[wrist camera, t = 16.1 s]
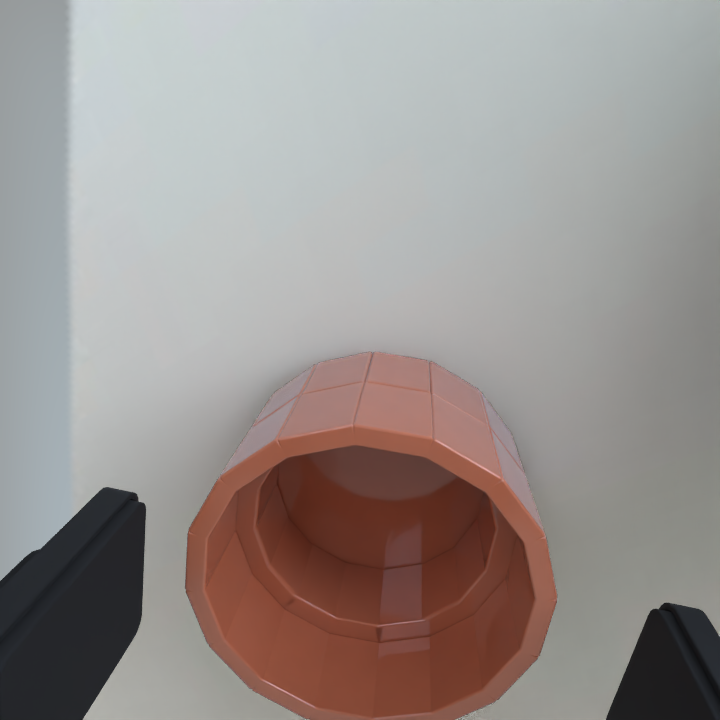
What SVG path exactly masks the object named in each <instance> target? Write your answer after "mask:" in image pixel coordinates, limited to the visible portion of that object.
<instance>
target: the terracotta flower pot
mask: <svg viewBox="0 0 720 720" xmlns="http://www.w3.org/2000/svg"><path fill="white" fill-rule="evenodd" d="M185 589H186V594H187V596H188V598H189V601H190V603H191V606H192V608H193V610H194V613H195V615H196V618H197V620H198V622H199V625H200V627H201V630H202V632H203V634H204V637H205V639H206V642H207V644H209V647H210V648H211V649H212V650H213V651H214V652H215V653H216V654H217V655H218V656H219V657H220V658H221V659H222V660H223V661H224V662H225V663H226V664H227V665H228V666H229V667H230V668H231V670H232V671H233V672H234V673H235V674H236V675H237V676H238V677H239V678H240V679H241V680H242V681H243V682H244V683H245V684H246V685H247V686H248V687H249V688H250V689H252V690H253V691H254V692H256V693H258V694H260V695H262V696H264V697H265V698H267V699H269V700H271V701H273V702H275V703H277V704H279V705H281V706H282V707H284V708H286V709H288V710H290V711H292V712H294V713H296V714H298V715H300V716H301V717H303V718H305V719H310V720H456V719H458V718H460V717H462V716H465V715H467V714H469V713H471V712H474V711H476V710H478V709H480V708H483V707H485V706H487V705H489V704H492V703H494V702H495V701H496V700H498V699H499V698H500V697H501V696H502V695H503V694H504V693H505V692H506V691H507V690H508V689H509V688H510V687H511V686H512V685H513V684H514V683H515V682H516V681H517V680H518V679H519V678H520V677H521V676H522V675H523V673H524V672H525V671H526V670H527V669H528V668H529V667H530V666H531V665H532V664H533V663H534V662H535V661H536V660H537V659H538V656H540V653H541V650H542V647H543V643H544V640H545V637H546V634H547V631H548V628H549V625H550V622H551V618H552V615H553V612H554V609H555V606H556V603H557V591H556V586H555V581H554V575H553V570H552V565H551V559H550V554H549V548H548V543H547V538H546V535H545V532H544V529H543V526H542V523H541V520H540V517H539V514H538V511H537V508H536V505H535V502H534V499H533V496H532V492H531V489H530V486H529V483H528V480H527V478H526V475H525V472H524V469H523V466H522V463H521V460H520V457H519V454H518V451H517V448H516V445H515V442H514V439H513V437H512V434H511V432H510V430H509V429H508V428H507V426H506V425H505V423H504V422H503V421H502V419H501V418H500V417H499V415H498V414H497V412H496V411H495V410H494V408H493V407H492V406H491V404H490V403H489V401H488V400H487V399H486V397H485V396H484V395H483V393H482V392H480V391H479V389H478V388H476V387H474V386H473V385H471V384H469V383H468V382H466V381H464V380H463V379H461V378H459V377H458V376H456V375H454V374H453V373H451V372H449V371H448V370H446V369H444V368H443V367H441V366H439V365H438V364H436V363H434V362H432V361H431V362H429V361H427V360H422V359H416V358H410V357H404V356H398V355H392V354H386V353H380V352H373V353H372V352H365V353H361V354H356V355H351V356H347V357H342V358H337V359H333V360H328V361H323V362H319V363H318V364H315V365H313V366H311V367H310V368H308V369H307V370H306V371H304V372H303V373H301V374H300V375H298V376H297V377H296V378H294V379H293V380H291V381H290V382H288V383H287V384H286V385H284V386H283V387H281V388H280V389H278V390H277V391H276V392H275V393H274V394H273V395H271V397H270V399H269V400H268V402H267V403H266V405H265V406H264V408H263V409H262V411H261V412H260V414H259V416H258V417H257V419H256V420H255V422H254V423H253V425H252V426H251V428H250V429H249V431H248V433H247V434H246V436H245V437H244V439H243V440H242V442H241V443H240V445H239V447H238V448H237V450H236V451H235V453H234V454H233V456H232V457H231V459H230V460H229V462H228V464H227V465H226V467H225V468H224V470H223V471H222V473H221V474H220V476H219V478H218V479H217V481H216V483H215V484H214V486H213V488H212V489H211V491H210V493H209V495H208V496H207V498H206V500H205V502H204V503H203V505H202V507H201V508H200V510H199V512H198V514H197V515H196V517H195V519H194V521H193V522H192V524H191V526H190V527H189V531H188V536H187V558H186V580H185Z"/></svg>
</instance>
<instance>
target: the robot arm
mask: <svg viewBox="0 0 720 720" xmlns="http://www.w3.org/2000/svg"><path fill="white" fill-rule="evenodd" d="M145 520H146V506H145V504H144V503H142V502H138V496H137V494H136V493H133V492H128V491H123V490H119V489H114V488H109V487H106V488H103V489H102V490H100V491H99V492H98V493H97V494H96V495H95V496H94V497H93V498H92V499H91V500H90V501H89V502H88V503H87V504H86V505H85V506H84V507H83V508H82V509H81V510H80V511H79V512H78V513H77V514H76V515H75V516H74V517H73V518H72V519H71V520H70V521H69V522H68V523H67V524H66V525H65V526H64V527H63V528H62V529H61V530H60V531H59V532H58V533H57V534H56V535H55V536H54V537H53V538H52V539H51V540H49V541H48V542H47V543H46V544H45V546H43V547H42V548H41V549H39V550H36V551H33V552H31V553H30V554H29V555H27V556H26V557H25V558H24V559H23V560H22V561H21V562H20V563H19V564H18V565H17V566H16V567H14V569H12V570H11V571H10V572H9V573H8V574H7V575H6V576H5V577H4V578H3V579H2V580H1V581H0V720H83V718H84V716H85V715H86V713H87V712H88V710H89V709H90V707H91V705H92V704H93V702H94V701H95V699H96V697H97V696H98V694H99V693H100V691H101V689H102V688H103V686H104V685H105V683H106V681H107V680H108V678H109V677H110V675H111V674H112V672H113V670H114V669H115V667H116V666H117V664H118V662H119V661H120V659H121V658H122V656H123V654H124V653H125V651H126V650H127V648H128V646H129V645H130V643H131V642H132V640H133V638H134V637H135V635H136V633H137V631H138V628H139V625H140V622H141V616H142V596H143V571H144V546H145ZM606 720H720V637H719V635H718V634H717V632H716V630H715V629H714V627H713V625H712V624H711V622H710V621H709V619H708V617H707V616H706V615H705V613H704V612H703V611H701V610H700V609H696V608H691V607H687V606H682V605H677V604H672V603H664V604H663V605H661V607H660V608H659V609H653V610H651V611H650V613H649V615H648V617H647V620H646V622H645V624H644V627H643V629H642V632H641V634H640V637H639V639H638V642H637V644H636V646H635V649H634V651H633V654H632V656H631V659H630V661H629V664H628V666H627V668H626V671H625V673H624V676H623V678H622V681H621V683H620V686H619V688H618V690H617V693H616V695H615V698H614V700H613V703H612V705H611V707H610V710H609V712H608V715H607V718H606Z"/></svg>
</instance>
